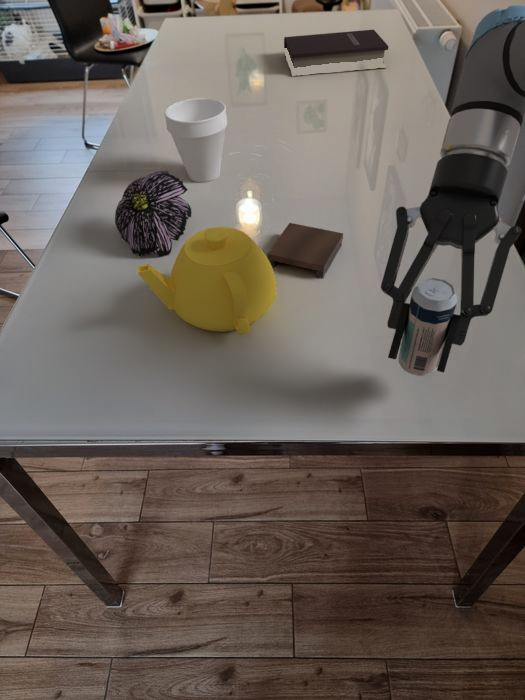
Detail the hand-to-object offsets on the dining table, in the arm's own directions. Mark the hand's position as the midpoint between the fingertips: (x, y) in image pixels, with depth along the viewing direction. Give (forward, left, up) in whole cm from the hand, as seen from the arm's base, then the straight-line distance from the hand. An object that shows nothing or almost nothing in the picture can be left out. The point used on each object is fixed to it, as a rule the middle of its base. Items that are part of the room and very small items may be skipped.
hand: (416, 364), depth 57 cm
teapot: (+31, -8, -8) cm, 33 cm away
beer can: (0, -4, -4) cm, 6 cm away
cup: (+54, -46, -8) cm, 71 cm away
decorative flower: (+51, -22, -8) cm, 56 cm away
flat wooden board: (+23, -26, -8) cm, 36 cm away
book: (+51, -123, -8) cm, 133 cm away
